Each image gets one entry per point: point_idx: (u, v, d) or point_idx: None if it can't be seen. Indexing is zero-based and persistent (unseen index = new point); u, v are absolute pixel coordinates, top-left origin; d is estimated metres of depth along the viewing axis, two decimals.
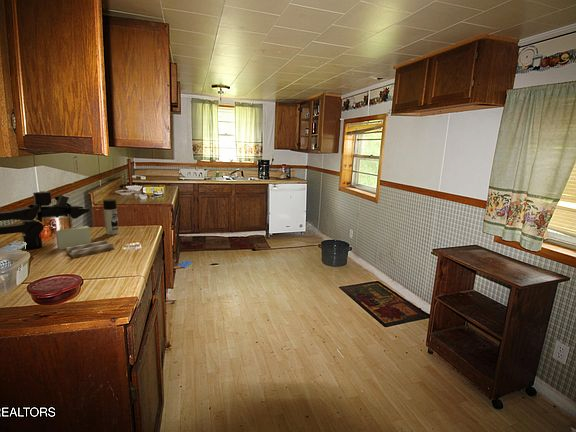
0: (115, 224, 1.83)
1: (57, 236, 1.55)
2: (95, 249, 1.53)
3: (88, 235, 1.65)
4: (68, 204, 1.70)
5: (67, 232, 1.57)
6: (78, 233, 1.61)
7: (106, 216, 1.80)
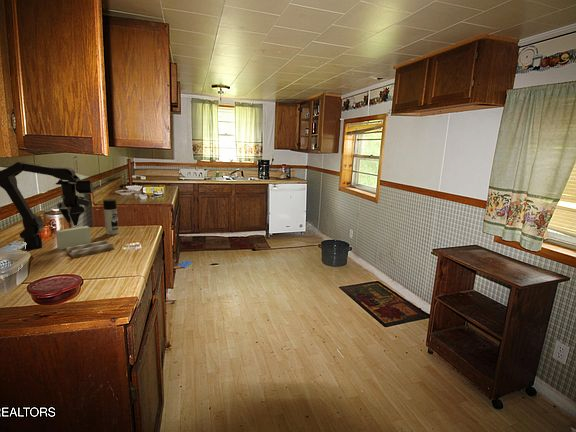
0: (115, 224, 1.83)
1: (57, 236, 1.55)
2: (95, 249, 1.53)
3: (88, 235, 1.65)
4: None
5: (67, 232, 1.57)
6: (78, 233, 1.61)
7: (106, 216, 1.80)
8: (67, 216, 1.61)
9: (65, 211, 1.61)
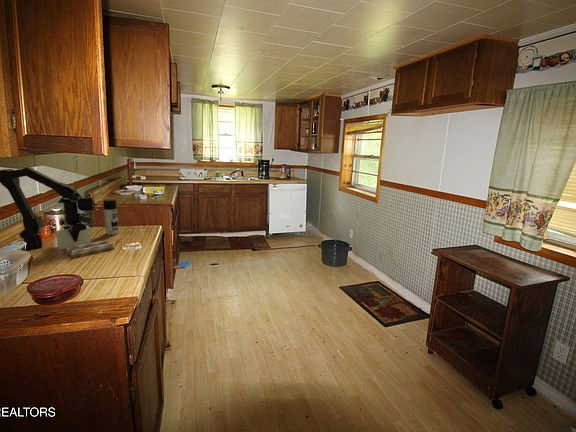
0: (115, 224, 1.83)
1: (57, 236, 1.55)
2: (95, 249, 1.53)
3: (88, 235, 1.65)
4: None
5: (67, 232, 1.57)
6: None
7: (106, 216, 1.80)
8: None
9: None
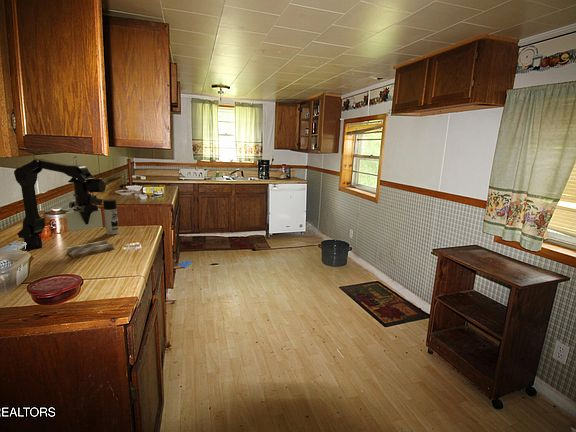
0: (115, 224, 1.83)
1: (68, 218, 1.47)
2: (95, 249, 1.53)
3: (99, 217, 1.57)
4: None
5: (78, 214, 1.49)
6: (90, 215, 1.53)
7: (106, 216, 1.80)
8: None
9: None
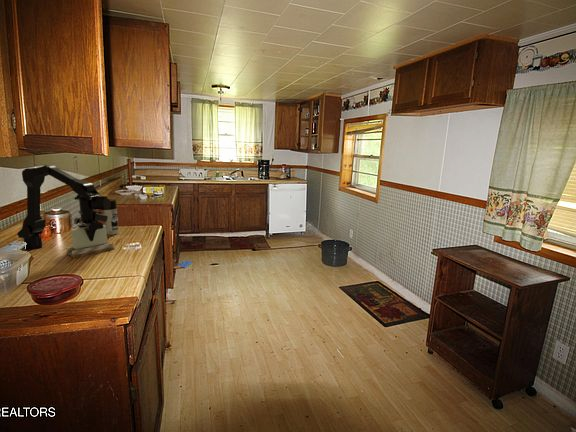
0: (115, 224, 1.83)
1: (73, 235, 1.47)
2: (95, 249, 1.53)
3: (104, 234, 1.57)
4: None
5: (83, 231, 1.49)
6: (95, 232, 1.53)
7: None
8: None
9: None
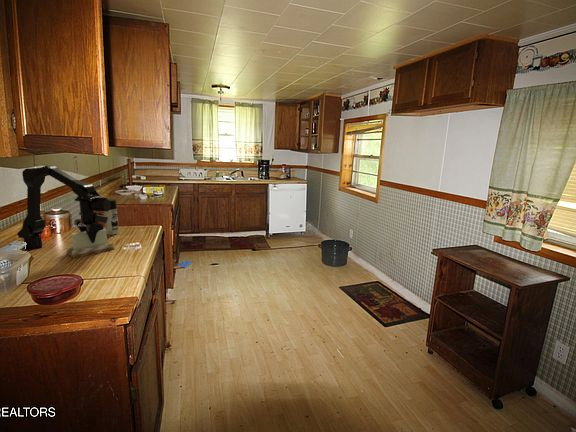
0: (115, 224, 1.83)
1: (73, 239, 1.48)
2: (95, 249, 1.53)
3: (105, 238, 1.57)
4: None
5: (83, 235, 1.49)
6: None
7: (106, 216, 1.80)
8: None
9: (84, 229, 1.54)
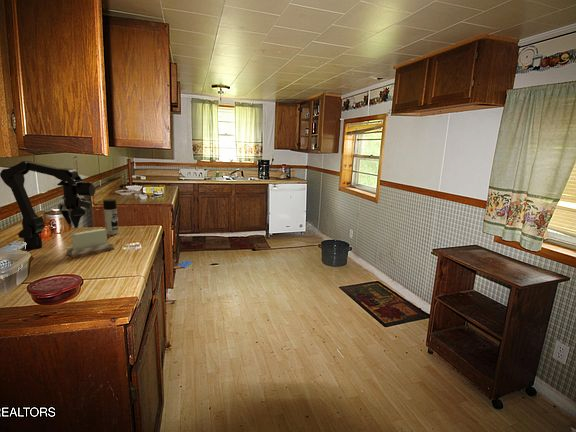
0: (115, 224, 1.83)
1: (73, 239, 1.48)
2: (95, 249, 1.53)
3: (105, 238, 1.57)
4: None
5: (83, 235, 1.49)
6: (95, 236, 1.54)
7: (106, 216, 1.80)
8: (68, 218, 1.58)
9: (66, 213, 1.57)
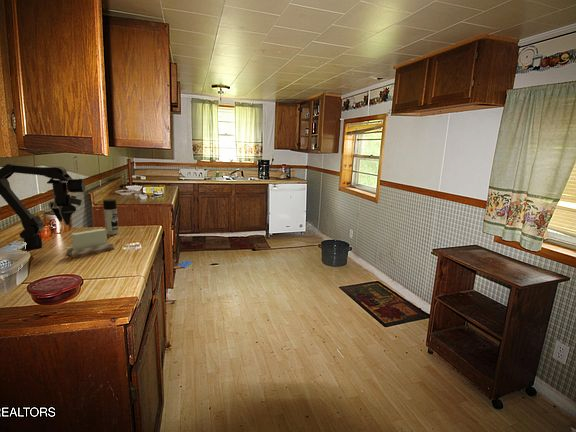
0: (115, 224, 1.83)
1: (73, 239, 1.48)
2: (95, 249, 1.53)
3: (105, 238, 1.57)
4: None
5: (83, 235, 1.49)
6: (95, 236, 1.54)
7: (106, 216, 1.80)
8: (59, 215, 1.60)
9: (57, 210, 1.59)
